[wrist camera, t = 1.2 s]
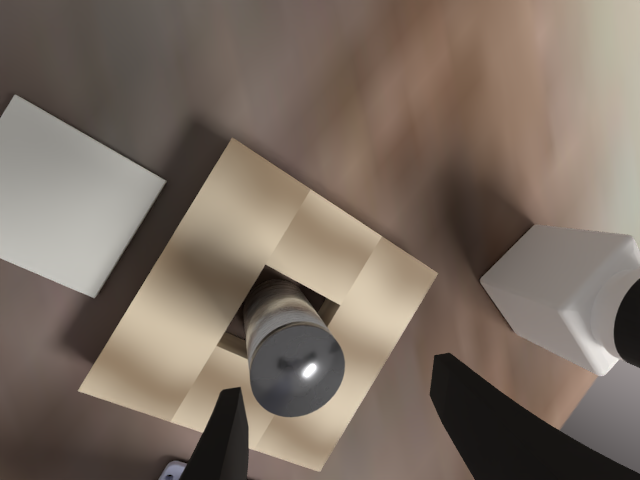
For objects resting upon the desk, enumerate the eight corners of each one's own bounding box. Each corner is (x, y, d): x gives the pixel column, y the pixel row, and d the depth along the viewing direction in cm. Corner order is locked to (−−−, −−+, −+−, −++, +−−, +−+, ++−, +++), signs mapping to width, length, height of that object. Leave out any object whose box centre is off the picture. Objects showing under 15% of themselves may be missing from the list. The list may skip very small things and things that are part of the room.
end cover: (286, 349, 23) (314, 429, 15) (230, 324, 21) (230, 397, 14) (317, 296, 23) (361, 349, 15) (264, 267, 22) (283, 310, 14)
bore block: (310, 444, 24) (319, 471, 22) (96, 366, 20) (77, 390, 17) (418, 265, 25) (438, 273, 22) (232, 143, 20) (232, 137, 17)
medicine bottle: (514, 334, 28) (705, 431, 17) (476, 279, 26) (663, 347, 15) (567, 280, 29) (783, 337, 18) (533, 222, 27) (754, 245, 16)
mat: (97, 296, 19) (94, 298, 19) (-62, 228, 17) (-69, 228, 16) (167, 181, 19) (165, 180, 19) (19, 96, 17) (15, 94, 16)
